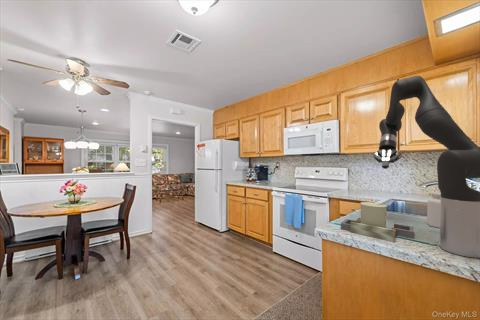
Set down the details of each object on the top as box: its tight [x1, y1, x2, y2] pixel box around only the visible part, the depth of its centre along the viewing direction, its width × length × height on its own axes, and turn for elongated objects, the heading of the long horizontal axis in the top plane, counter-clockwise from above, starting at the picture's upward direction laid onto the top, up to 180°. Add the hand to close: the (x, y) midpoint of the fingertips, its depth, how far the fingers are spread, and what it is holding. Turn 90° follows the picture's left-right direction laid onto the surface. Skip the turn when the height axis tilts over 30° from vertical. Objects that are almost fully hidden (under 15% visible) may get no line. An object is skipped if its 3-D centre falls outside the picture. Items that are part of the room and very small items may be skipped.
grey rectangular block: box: [360, 201, 388, 228], centre depth 84 cm, size 9×9×12 cm
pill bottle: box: [426, 192, 441, 229], centre depth 93 cm, size 8×8×15 cm
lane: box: [349, 217, 399, 243], centre depth 85 cm, size 14×17×4 cm
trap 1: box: [340, 218, 357, 232], centre depth 89 cm, size 4×9×2 cm, turn 139°
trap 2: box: [396, 223, 415, 239], centre depth 82 cm, size 5×8×2 cm, turn 139°
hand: (385, 167), depth 100 cm, fingers closed
